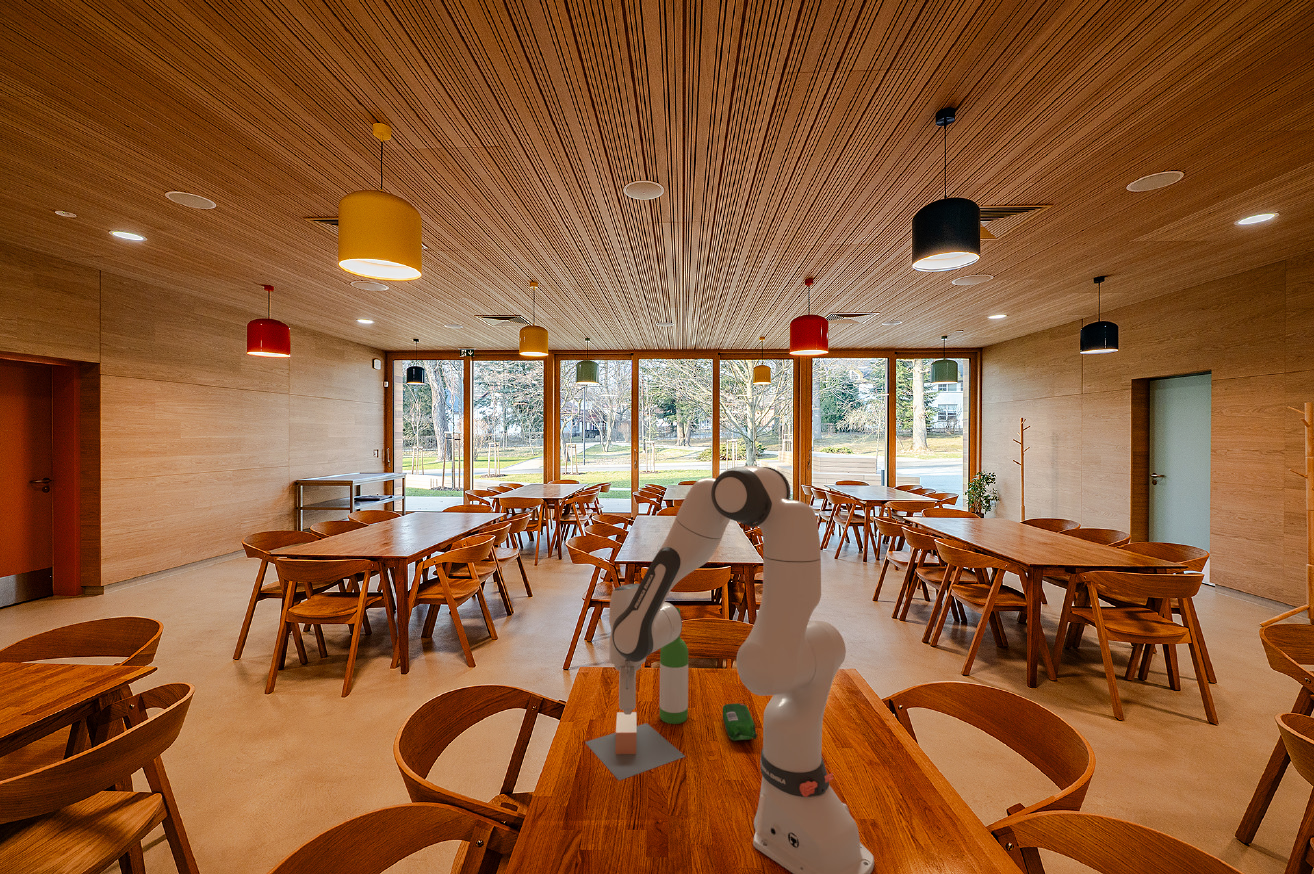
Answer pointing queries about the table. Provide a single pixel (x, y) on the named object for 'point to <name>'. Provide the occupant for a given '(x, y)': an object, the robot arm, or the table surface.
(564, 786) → the table surface
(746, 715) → the snack package
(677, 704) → the wine bottle
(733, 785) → the table surface
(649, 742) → the mat
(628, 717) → the block
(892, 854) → the table surface
